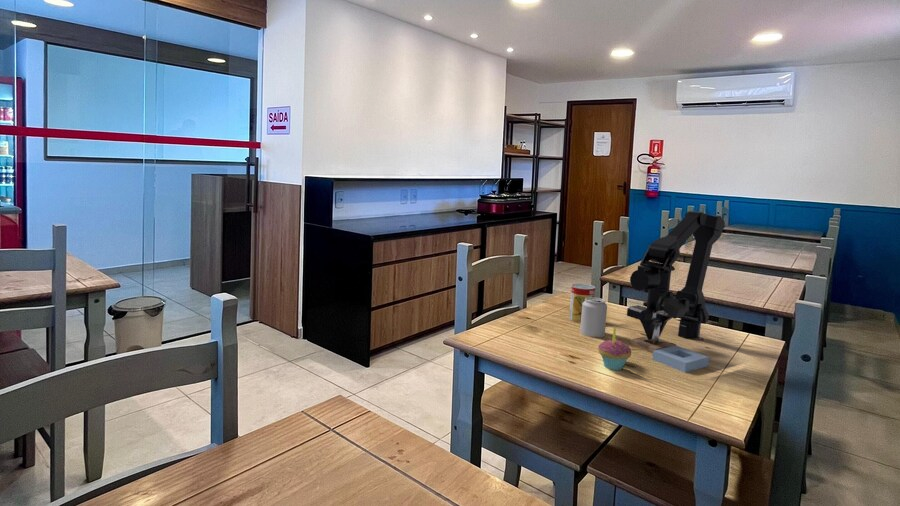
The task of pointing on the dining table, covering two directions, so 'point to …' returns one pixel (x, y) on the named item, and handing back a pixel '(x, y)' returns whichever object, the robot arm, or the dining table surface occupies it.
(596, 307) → the can
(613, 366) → the cupcake
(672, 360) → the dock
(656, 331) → the lock pin
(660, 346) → the mount
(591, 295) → the canned food
